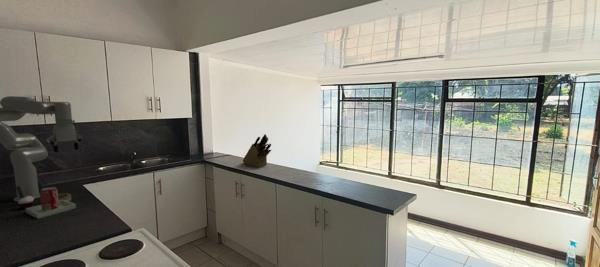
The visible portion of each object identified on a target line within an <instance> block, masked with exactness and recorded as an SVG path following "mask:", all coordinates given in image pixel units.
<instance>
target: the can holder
mask: <svg viewBox="0 0 600 267" xmlns="http://www.w3.org/2000/svg"><path fill="white" fill-rule="evenodd" d="M58 199H59V200H66V201H69V202H71V200H72V195H71V193H58Z"/></svg>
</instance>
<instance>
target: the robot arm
mask: <svg viewBox="0 0 600 267" xmlns="http://www.w3.org/2000/svg"><path fill="white" fill-rule="evenodd" d="M0 106H1V107H0V144H1V145H2V146H3V147H4V148H5V149H6V150H9V151H11V152H10V154H9V160H10V161H11V164H12V168H13V173H14V181H15V188H16V187H18V186H20V188H21V191H22V193H23V195H24V197H26V196H32V197H33V198H34V200H36V198H37V199H39V198H40V192H39V184H38V183H39V182H38V174H37V168H36V167H35V165H34V164H33V163H35V162H40V161H44V160H45V159H47V158H48V157H49V156H48V155H49V152H48V150H47V148H46V147H45V146H44V145H43V144H42V142H41V141H40V140H39V139H38V138H37V136H35V135H34V134H33V133H32V134H31V133H28V132H27V133H25V132H24V133H18V132H16V131H14V129H13V128H12V126H10V125H9V124H7V123H5V122H15V121H19V120H21V119H23V117H24V116H25V115H26V114H30V115H31V114H32V115H40V116H41V115H54V121H55V125H53V129H52V135H51V136H49V137H47V138H45V139H46V141H47V142H48V143H49V144H50V145H52V148H53V149H52V150H53V151H54V152H55V153H58V152H59V146H58V144H59V143H64V142H74V143H73V148H74V150H75V151H78V150H79V148H80V147H79V143H80V142H81V141H82V139H83V137H84V135H82V134H79V133H77V131H76V127H75V125H74V124H73V123H75V122H76V120H73V116H72V114H73V113H72V106H71V103H70V102H69V101H44V100H43V101H41V100H40V101H37V100H34V99H32V98H30V97H27V96H14V95H13V96H5V97H2V98H1V99H0ZM77 137H78V138H77ZM15 190H16V197H14V198H13V201H14V202H18V201H19V200H20V199H21V198H20V196H19V193H18V191H17V188H16V189H15ZM40 199H41V198H40Z"/></svg>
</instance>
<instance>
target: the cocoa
mask: <svg viewBox="0 0 600 267" xmlns="http://www.w3.org/2000/svg"><path fill="white" fill-rule="evenodd" d="M15 188H17V191H18V193H19V196H20V198H21V199H20V200H19V201H17V206H18V208H19V209H21V210H26V208H30V207H34V202H35V201H34V200H35V199H34V198H33V197H32V196H26V197H24V195H23V193H22V191H21V188H20V186H18V187H16V186H15ZM17 191H16V192H17Z"/></svg>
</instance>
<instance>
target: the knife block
mask: <svg viewBox="0 0 600 267" xmlns="http://www.w3.org/2000/svg"><path fill="white" fill-rule="evenodd" d="M268 141H269V137H268V136H267V134H263V136H262V138H261V137H260V136H258V137H257V138H256V140H255V142H254V143H252V144H251V146H250V147H249V149H248V151H247V153H246V154H245V156H244V158H243V159H242V162H243V163H244V164H245V165H249V166H252V167H256V168H259V167H260V168H261V167H266V166H267V163H268V162H267V161H268V159H267V157H268V154H270V153H271V151H272V149H270V148H271V146H272V143H268Z"/></svg>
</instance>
